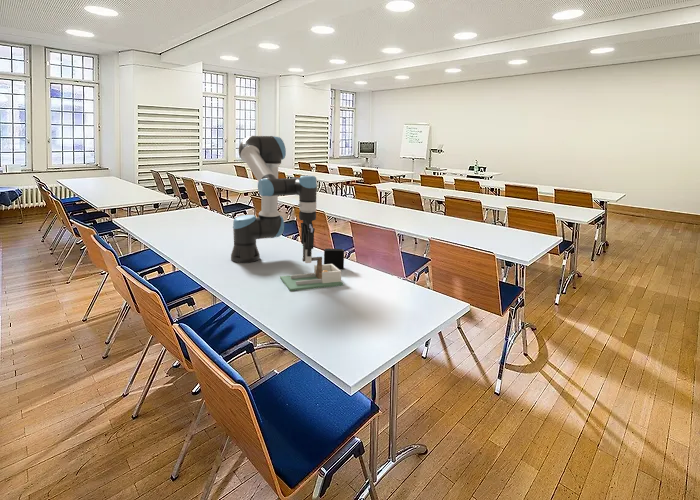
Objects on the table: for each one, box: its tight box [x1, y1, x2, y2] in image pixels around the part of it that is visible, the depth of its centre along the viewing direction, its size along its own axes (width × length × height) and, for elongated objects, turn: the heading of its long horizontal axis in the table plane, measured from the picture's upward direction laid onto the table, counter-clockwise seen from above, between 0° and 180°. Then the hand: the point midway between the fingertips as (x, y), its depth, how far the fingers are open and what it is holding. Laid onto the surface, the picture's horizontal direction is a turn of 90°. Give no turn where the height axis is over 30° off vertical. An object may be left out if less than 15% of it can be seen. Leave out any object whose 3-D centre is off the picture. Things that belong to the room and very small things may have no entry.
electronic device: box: [323, 248, 345, 271], centre depth 225 cm, size 4×10×10 cm, turn 95°
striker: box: [301, 242, 323, 279], centre depth 202 cm, size 6×9×18 cm, turn 113°
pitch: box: [279, 263, 344, 292], centre depth 204 cm, size 18×25×6 cm
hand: (307, 261), depth 201 cm, fingers closed on striker, 3 cm apart
